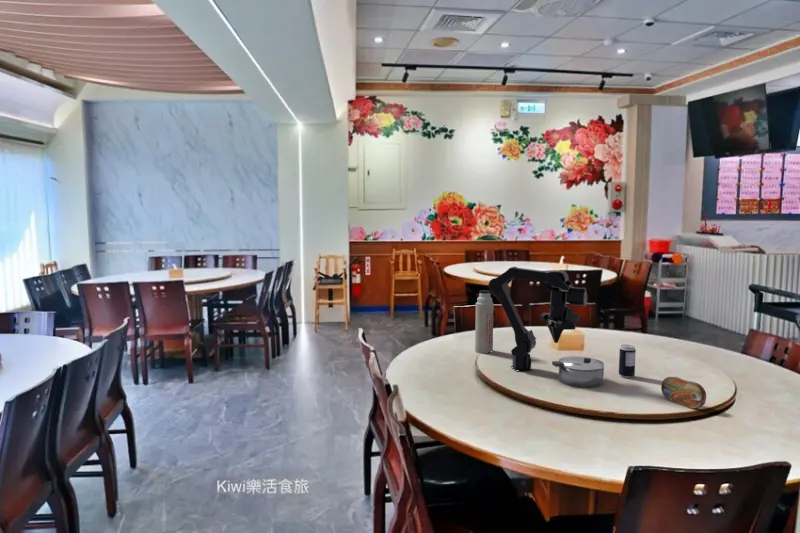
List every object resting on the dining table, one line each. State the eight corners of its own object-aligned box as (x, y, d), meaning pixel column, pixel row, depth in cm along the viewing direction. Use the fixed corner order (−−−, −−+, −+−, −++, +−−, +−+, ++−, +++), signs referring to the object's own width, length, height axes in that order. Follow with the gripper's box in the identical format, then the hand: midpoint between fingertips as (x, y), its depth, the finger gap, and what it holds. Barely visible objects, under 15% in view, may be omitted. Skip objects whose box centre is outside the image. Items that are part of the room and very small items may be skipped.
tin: (660, 397, 185) (661, 373, 184) (666, 396, 186) (667, 372, 186) (700, 412, 172) (702, 386, 171) (707, 411, 173) (708, 385, 172)
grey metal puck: (571, 389, 194) (572, 372, 193) (550, 376, 210) (551, 360, 209) (612, 386, 197) (612, 370, 196) (588, 373, 213) (589, 358, 212)
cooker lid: (564, 372, 193) (564, 366, 193) (544, 360, 208) (544, 354, 208) (613, 369, 196) (613, 363, 196) (589, 358, 212) (589, 352, 212)
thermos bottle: (496, 352, 246) (497, 291, 243) (481, 354, 242) (482, 292, 239) (485, 348, 253) (486, 288, 250) (471, 350, 249) (472, 290, 246)
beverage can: (634, 375, 211) (636, 345, 209) (634, 379, 205) (635, 348, 204) (619, 373, 213) (620, 343, 212) (618, 377, 208) (619, 346, 207)
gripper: (589, 307, 201) (587, 348, 203) (566, 298, 219) (564, 336, 221) (561, 307, 199) (559, 349, 201) (540, 299, 217) (538, 337, 219)
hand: (556, 342), depth 210 cm, fingers closed
